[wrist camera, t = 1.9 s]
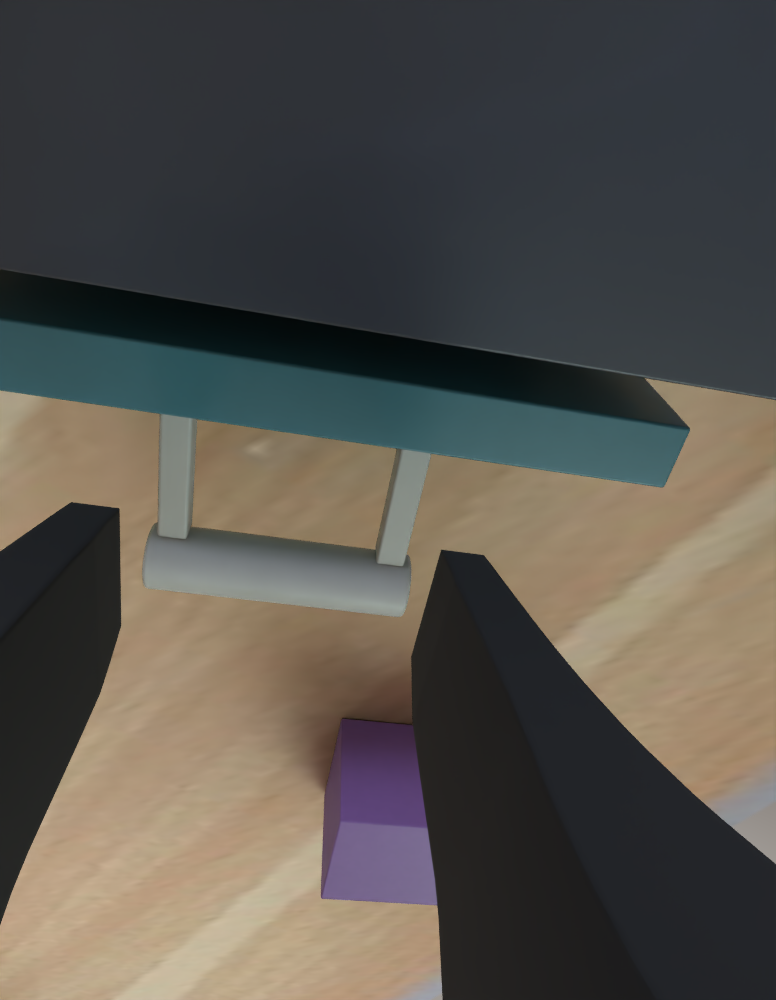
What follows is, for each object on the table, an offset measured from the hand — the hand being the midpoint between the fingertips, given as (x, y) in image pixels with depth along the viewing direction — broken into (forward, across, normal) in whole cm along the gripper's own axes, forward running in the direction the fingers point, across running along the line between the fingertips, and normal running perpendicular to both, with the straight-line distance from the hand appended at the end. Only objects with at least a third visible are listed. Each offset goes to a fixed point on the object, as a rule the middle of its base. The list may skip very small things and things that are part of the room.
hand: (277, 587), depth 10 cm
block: (+9, -5, +16) cm, 19 cm away
